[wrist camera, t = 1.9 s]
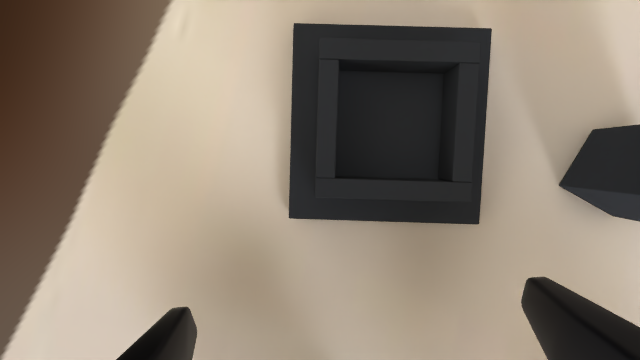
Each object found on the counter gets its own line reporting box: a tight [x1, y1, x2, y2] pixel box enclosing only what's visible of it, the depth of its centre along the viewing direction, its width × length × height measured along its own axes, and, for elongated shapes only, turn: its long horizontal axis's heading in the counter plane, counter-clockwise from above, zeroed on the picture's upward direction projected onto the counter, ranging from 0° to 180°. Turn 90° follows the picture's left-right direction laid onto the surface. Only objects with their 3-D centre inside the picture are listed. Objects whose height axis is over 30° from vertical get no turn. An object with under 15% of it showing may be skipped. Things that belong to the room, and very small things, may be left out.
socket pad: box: [289, 23, 492, 224], centre depth 21 cm, size 13×13×4 cm
